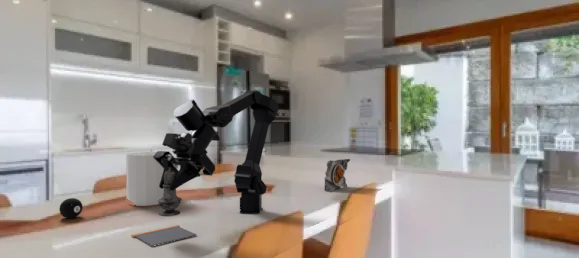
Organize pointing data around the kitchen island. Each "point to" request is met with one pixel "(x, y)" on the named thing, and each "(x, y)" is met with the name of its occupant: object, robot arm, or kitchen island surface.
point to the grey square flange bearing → (335, 174)
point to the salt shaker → (169, 196)
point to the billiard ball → (71, 208)
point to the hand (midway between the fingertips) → (165, 188)
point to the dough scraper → (163, 235)
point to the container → (143, 178)
